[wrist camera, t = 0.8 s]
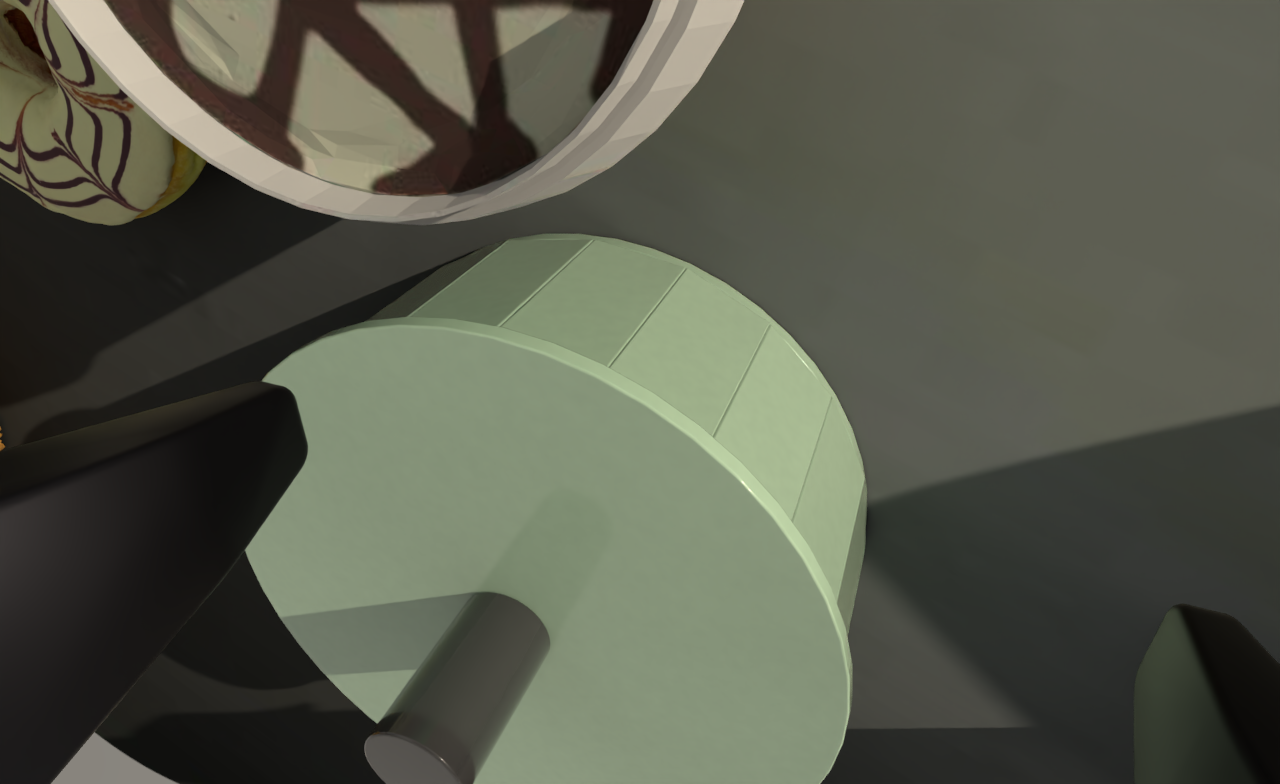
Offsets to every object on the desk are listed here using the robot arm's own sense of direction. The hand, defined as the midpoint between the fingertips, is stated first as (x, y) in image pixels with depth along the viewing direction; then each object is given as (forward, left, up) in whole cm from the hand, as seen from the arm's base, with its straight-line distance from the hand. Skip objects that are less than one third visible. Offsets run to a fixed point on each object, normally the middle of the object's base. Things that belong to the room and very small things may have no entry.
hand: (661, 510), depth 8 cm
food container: (+7, +5, -14) cm, 16 cm away
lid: (-7, +11, -7) cm, 15 cm away
